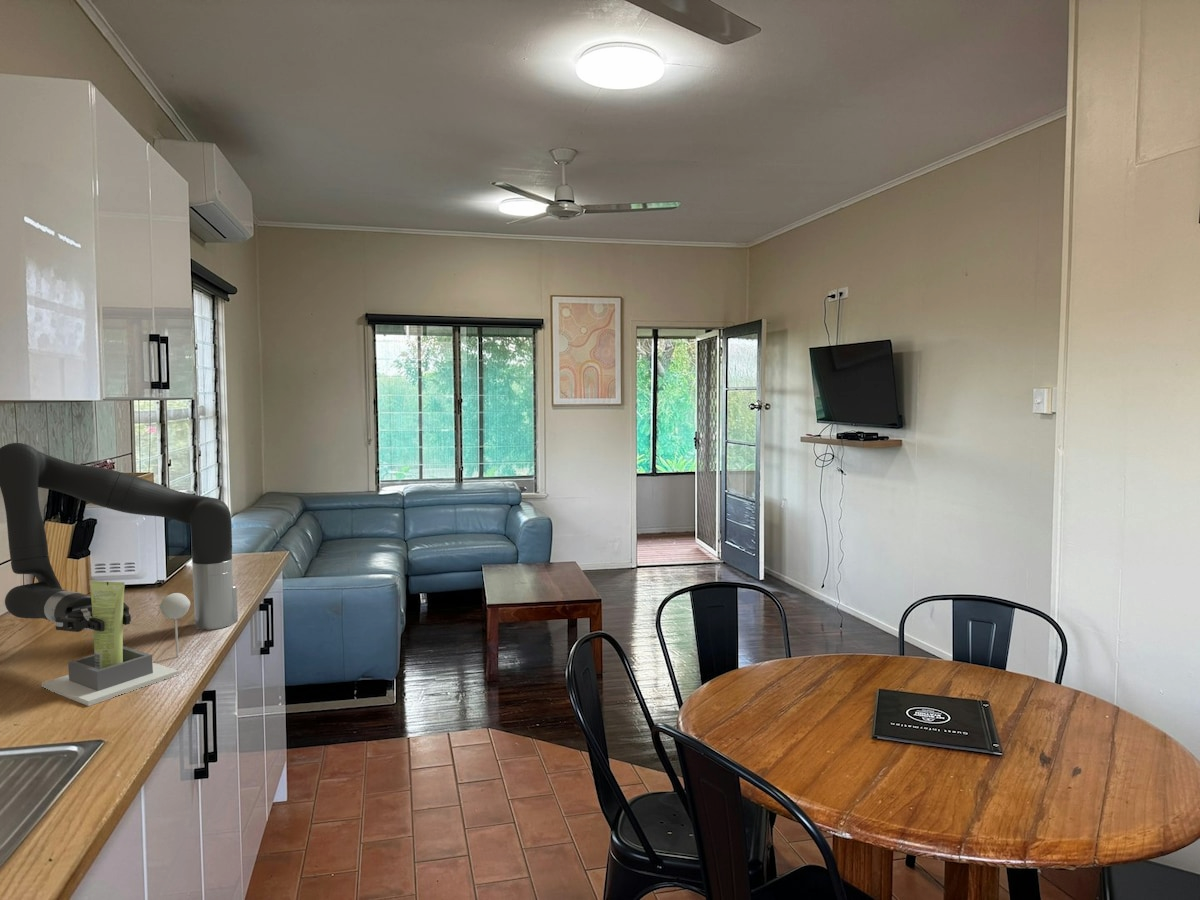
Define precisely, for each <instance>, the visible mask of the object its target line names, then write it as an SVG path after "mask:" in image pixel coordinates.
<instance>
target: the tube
mask: <svg viewBox="0 0 1200 900" xmlns="http://www.w3.org/2000/svg"><path fill="white" fill-rule="evenodd" d="M125 585H126V584H125V581H103V580H89V587H90V590H89V591H90V596H91V601H92V615H93V618H97V619H100V620H103V621H104V626H105V630H104V631H101V632H99V631H96V630H93V650H94V652H93V653H94V654H93V655H94V657H95V668H97V669H103V668H106V667H109V666H112V665H116V664H119V663H122V662H123V646H124V644H123V643H124V641H123V639H124V635H123V634H124V630H123V629H124V624H123V602H124V595H125V587H126V586H125Z"/></svg>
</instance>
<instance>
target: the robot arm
mask: <svg viewBox="0 0 1200 900" xmlns="http://www.w3.org/2000/svg"><path fill="white" fill-rule="evenodd" d="M39 488H42V489H44V490H45V489H47V490H51V491H55V492H58V493H62V494H66V495H69V496H71V497H73V498H76V499H78V500H81V501H84V502H87V503H89V504H92V505H96V506H99V507H101V508H106V509H109V510H114V511H117V512H121V513H125V514H126V513H127V514H130V515H138V516H139V515H140V516H148V517H149V516H151V517H152V516H153V517H161V518H165V519H169V520H170V519H171V520H174V521H177V522H180V523H183V524H186V525H189V526H190V535H191V536H190V537H191V539H190V540H191V557H192V558H191V559H192V563H191V565H192V567H191V568H192V584H193V587H192V589H193V609H194V610H193V611H194V627H195V629H197V628H198V629H197V630H203V629H206V630H208V631H209V630H218V629H223V628H226V626H227V627H229V626H231V625H233V624H234V623H236V622H238V621H239V618H238V617H239V615H238V588H237V586H236V585H234V580H233V579H234V576H233V575H234V574H233V533H232V531H233V530H232V527H233V525H232V514H231V511H230V508H229V506H228V505H227V504H226V503H225V502H224V501H223V500H221V499H219V498H216V497H211V496H203V495H199V494H198V495H197V494H193V493H188V492H182V491H179V490H175V489H173V488H170V487H168V486H164V485H162V484H159V483H157V482H153V481H151V480H148V479H145V478H142V477H139V476H136V475H132V474H129V473H125V472H121V471H118V470H114V469H109V468H104V467H98V466H91V465H83V464H77V463H72V462H69V461H66V460H62V459H60V458H57V457H54V456H51V455H48V454H47V453H43V452H41V451H38V450H37V449H36V448H34V447H33V446H31V445H29V444H27V443H26V444H25V443H22V442H12V443H11V442H10V443H7V444H4V445H3V446H1V447H0V491H1V495H2V499H3V503H4V509H5V516H6V517H5V518H6V526H7V527H6V528H7V540H8V548H9V549H8V550H9V557H10V567H11V569H12V572H13V573H14V574H16V575H31V576H32V575H33V576H34V577H35V579H36V580H37V581H38V582H33V583H28V584H27V583H26V584H21V585H17V586H15V587H13V588H11V589H10V590H9V591H8V592H7V594H6V595H5V598H4V606H5V608H6V610H7V611H8V612H9V613H10V615H12V616H14V617H16V618H20V619H32V620H33V619H44V620H47V621H49V622H51V623H54V624H55V630H56V631H65V632H71V633H80V632H82V631H84V630H86V631H91V630H96V631H99V632H101V631H104V630H105V626H104V621H103V620H100V619H97V618H93V615H92V601H91V595H87V594H84V593H81V592H77V591H75V590H74V591H72V590H66V589H63V588H62V585H61V584H60V582H59V579H58V578H57V576H56V574H55V572H54V569H53V566H52V564H51V561H50V556H49V555H50V554H49V547H48V540H47V535H46V529H45V525H44V524H45V523H44V522H43V517H42V513H41V507H40V501H39V500H40V499H39ZM131 617H132V616H131V614H130V607H129V606H128V605H127V604H126V603H125V602H124V601H123V626H124V625H125V626H128V625H129V624H131V622H132V618H131Z"/></svg>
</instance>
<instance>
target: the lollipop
mask: <svg viewBox="0 0 1200 900" xmlns="http://www.w3.org/2000/svg"><path fill="white" fill-rule="evenodd" d="M190 607H191V601H190V599H189V598H188V597H187V596H186V595H185V594H183V593H181V592H180V593H179V592H174V593H171V594H168V595H166V596H165V597H164V598H163V599H162V600H161V603H160V604H159V609H160V611H161V614H162V615H163V617H165V618H167V619H170V620H174V632H175V633H174V634H175V639H174V640H175V657H176V656H179V638H178V637H179V636H178V619H180V618H183V617H184V616H185V615H187V614H188V611H189V610H190Z"/></svg>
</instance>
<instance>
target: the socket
mask: <svg viewBox="0 0 1200 900" xmlns="http://www.w3.org/2000/svg"><path fill="white" fill-rule="evenodd" d="M67 667H68V674H66V675H63V676H60V677H57V678H53V679H50V680H46V681H44V682H41V688H42V687H44V688H46V689H45V690H47V689H48V690H47V691H49V690H50V691H49V692H52V693H54V692H55V694H57V695H60V696H61V697H63V698H67V699H69V700H72V701H74V702H76V703H80V704H83V705H85V706H86V707H90V706H93V705H96V704H100V703H102V702H104V701H108V700H111V699H114V698H116V697H115V696H117V697H119V696H118V695H120V696H122V695H121V694H123V695H125V694H124V693H126V694H128V693H131V692H134V691H137V690H140V689H142V688H141V687H143V688H146V687H147V686H148V685H149V686H151V684H152V685H154V684H153V683H155V684H157V683H160V682H162V681H161V680H163V681H165V680H164V679H166V678H169V677H172V676H174V675H177V674H179V675H180V671H179V670H178V669H174V668H171V667H168V666H165V665H162V664H159V663H156V662H153V654H151V653H147V652H144V651H140V650H138V649H134V648H130V647H128V646H125V645H123V662H122V663H119V664H116V665H112V666H109V667H106V668H103V669H97V668H95V657H94V654H91V655H87V656H84V657H80V658H78V659H74V660H73V659H72V660H71V661H68V666H67ZM172 678H173V677H172ZM169 679H170V678H169ZM166 680H167V679H166ZM159 681H160V682H159ZM156 682H157V683H156ZM145 686H146V687H145ZM44 688H43V689H44ZM139 688H140V689H139ZM136 689H137V690H136ZM133 690H134V691H133ZM130 691H131V692H130ZM113 697H114V698H113Z"/></svg>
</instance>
